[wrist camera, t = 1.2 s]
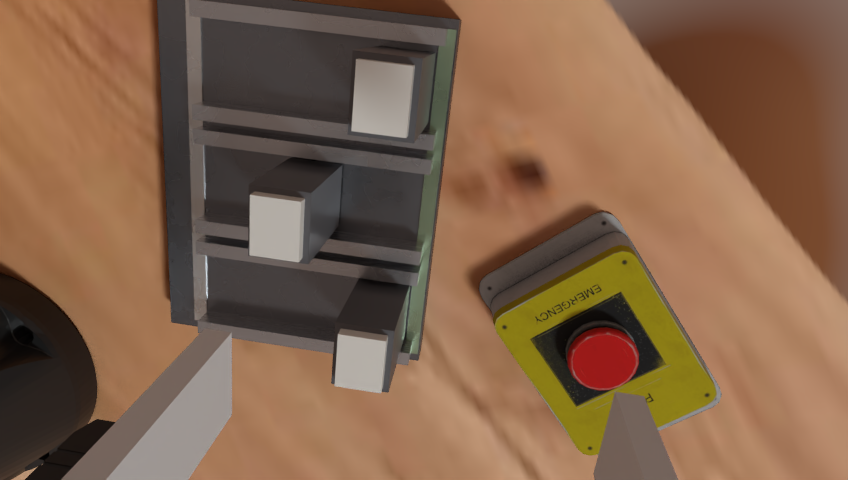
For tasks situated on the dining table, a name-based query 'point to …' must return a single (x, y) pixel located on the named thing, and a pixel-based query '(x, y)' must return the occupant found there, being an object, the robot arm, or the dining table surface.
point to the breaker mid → (293, 210)
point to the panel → (292, 138)
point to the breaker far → (370, 335)
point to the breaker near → (390, 93)
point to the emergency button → (596, 331)
